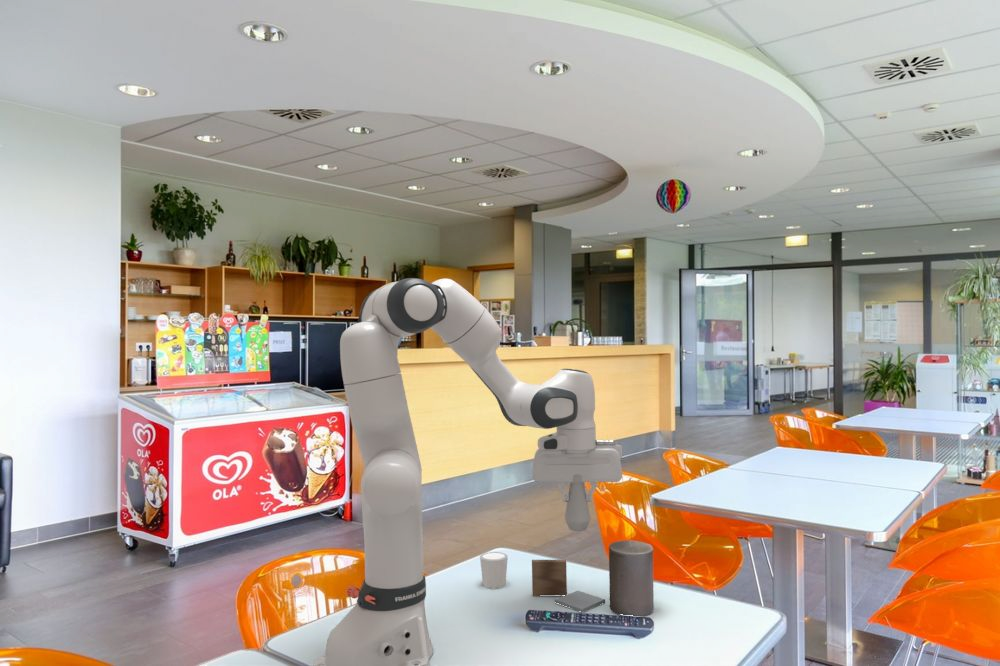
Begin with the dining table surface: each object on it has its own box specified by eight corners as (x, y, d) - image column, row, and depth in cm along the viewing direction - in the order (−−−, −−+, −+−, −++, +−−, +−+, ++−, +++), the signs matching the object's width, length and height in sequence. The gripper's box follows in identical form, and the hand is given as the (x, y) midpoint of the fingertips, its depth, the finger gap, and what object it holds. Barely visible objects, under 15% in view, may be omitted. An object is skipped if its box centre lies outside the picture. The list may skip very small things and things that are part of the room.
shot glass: (482, 579, 171) (482, 551, 171) (509, 580, 170) (509, 551, 170) (478, 589, 164) (477, 559, 165) (506, 589, 163) (505, 560, 164)
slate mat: (582, 612, 148) (582, 609, 148) (554, 603, 154) (554, 599, 154) (605, 602, 154) (605, 599, 154) (577, 593, 160) (577, 590, 160)
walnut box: (566, 593, 160) (566, 559, 160) (566, 596, 158) (566, 561, 159) (532, 593, 160) (531, 559, 161) (532, 596, 159) (531, 561, 159)
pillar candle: (601, 605, 153) (599, 538, 153) (636, 597, 157) (635, 532, 157) (626, 621, 144) (625, 550, 144) (663, 612, 148) (662, 543, 148)
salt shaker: (585, 533, 151) (583, 474, 151) (561, 530, 153) (560, 472, 153) (594, 527, 156) (593, 469, 156) (571, 524, 158) (569, 468, 159)
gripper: (620, 438, 157) (621, 498, 157) (532, 438, 159) (533, 498, 158) (624, 441, 151) (625, 504, 151) (531, 442, 152) (532, 504, 152)
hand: (577, 501), depth 155 cm, fingers closed on salt shaker, 4 cm apart
